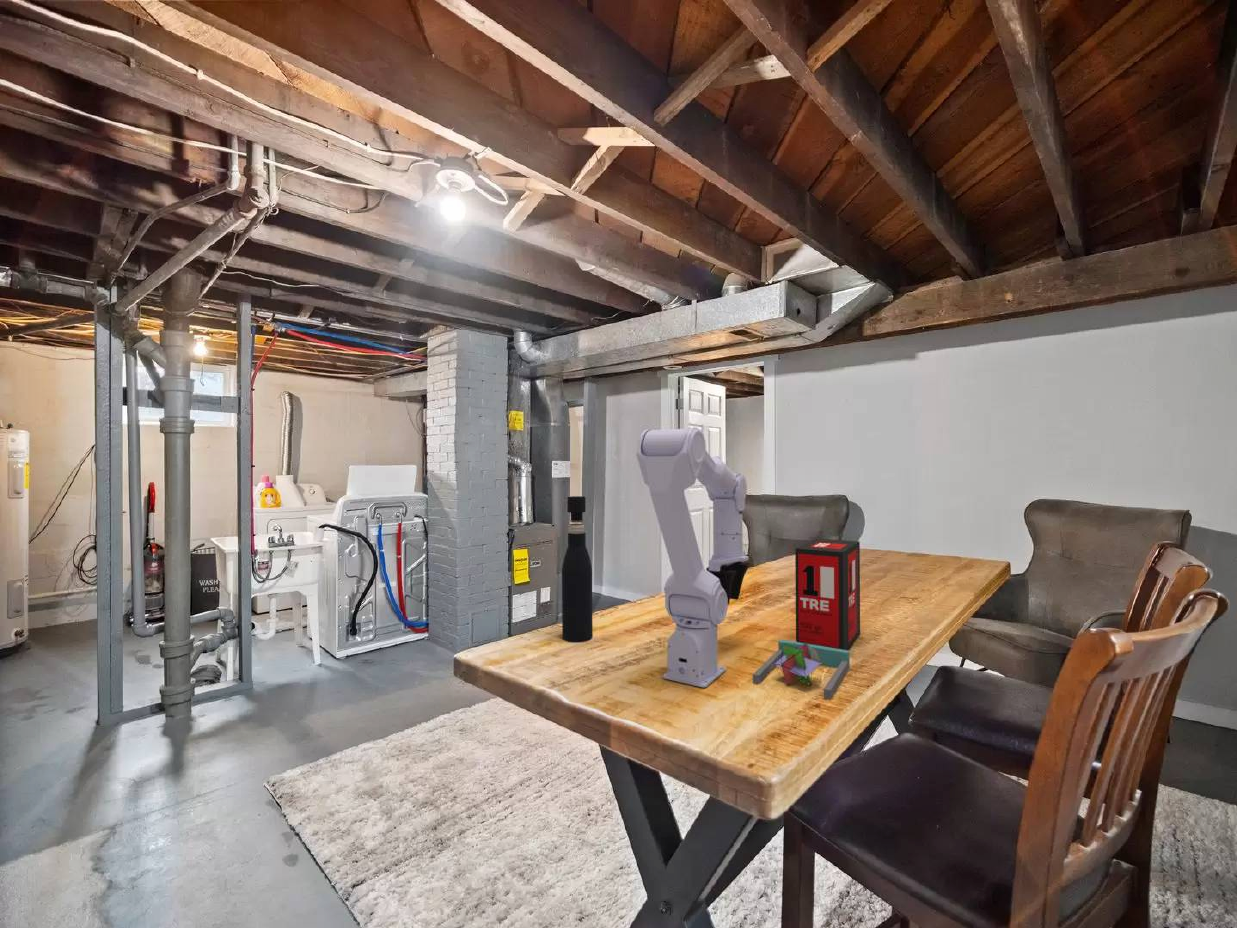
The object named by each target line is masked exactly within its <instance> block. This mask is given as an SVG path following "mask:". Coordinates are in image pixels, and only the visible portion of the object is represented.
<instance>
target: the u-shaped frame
mask: <svg viewBox="0 0 1237 928" xmlns="http://www.w3.org/2000/svg"><path fill="white" fill-rule="evenodd" d="M781 643H786V644H785V645H788V646H791V647H794V648H796V647H797V649H799V648H801V647H802V646H803V645H804V643H800V642H796V641H793V640H787V639H783V638H781V639H779V640H778V649H777V650H775V652H774V653H773V654H772V655H771V656H770V657H769V658H767V660H766V661H765V662H764V663H763V664H762V665H760V667H759V668H757V669H756V670H755V672H753V674H752V684H754V683H756V685H760V684H761V683H762V682H763V680H765V679H766V678H767V676H768V675H769V674H771V672H772V671H773V670H774V669H776V667H774V665H773V664H775V663H776V662H777V661H778V660H779V659H780V658H781V650H782V657H783V656H784V655H785V652H784V649H783V645H782V644H781ZM802 644H803V645H802ZM800 645H801V646H800ZM808 645H809V646H811V647H812V648H813V649H814V650H816V651H817V653H818V656H819V659H820V662H821V663H822V664H821V665H820V666H823V665H826V666H825V667H829V666H830V667H829V668H835V670H834V672H833V674H832V676H830V679H829V680H828V681H827V683H826V685H825V687H824V688H823V699H824V700H829V701H831V700H832V698H833V697H834V694H835V693H836V691H837V690H838V688H839V686H840V685H841V682H842V681H843V679H844V678H845V676H846V674H847V673H848V671H849V669H850V668H851V665H850V660H851V659H850V650H849V651H848V650H842V649H836V648H830V647H824V646H818V645H812V644H808ZM798 646H799V647H798ZM807 648H808V651H809V655H810V656H811V651H810V649H809V647H808V646H807ZM779 649H780V650H779ZM777 654H778V655H777ZM775 659H776V660H775ZM810 659H811V657H810ZM811 660H812V659H811ZM773 668H774V669H773ZM772 669H773V670H772ZM771 670H772V671H771ZM770 671H771V672H770ZM767 674H768V675H767ZM766 675H767V676H766ZM761 681H762V682H761ZM760 682H761V683H760ZM759 683H760V684H759Z"/></svg>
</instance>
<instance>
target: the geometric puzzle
mask: <svg viewBox="0 0 1237 928" xmlns="http://www.w3.org/2000/svg"><path fill="white" fill-rule="evenodd" d="M781 644H782V645H783V649H784V652H785V655H784V656H783V657H782V650H781V658H780V659H779V660H778V661H777V662H776V663H775V664H773V665H774V667H775V670H776V671H777V672H778V674H780V673H779V671H778V670H780V671H781V672H782V673H783V674H782V675H783V677H784V680H785V681H784V682H785V684H786V687H790V686H792V685H793V684H795V683H798V682H802V681H803V682H802V683H804V682H805V684H806V685H802V684H801V685H800V687H802V686H807V683H809V684H811V685H812V686H813V684H814V682H812V680H811V678H810V677H811V676H810V674H812V673H813V672H814V670H816V669H817V668H818V667H820V666H821V665H820V664H822V663H821V662H820V659H819V656H818V653H817V651H816V650H814V649H813V648H812V647H811V646H809V645H808V644H807V643H804V645H803V644H802V645H803V646H802V647H801V648H799V649H797V647H796V648H794V647H791V646H788V645H785V644H786V643H781ZM800 646H801V645H800ZM807 646H808V647H809V649H810V651H811V656H810V655H809V651H808V648H807ZM798 647H799V646H798ZM779 650H780V649H779ZM777 655H778V654H777ZM810 657H811V659H812V660H811V659H810ZM775 660H776V659H775ZM777 669H778V670H777ZM819 669H820V668H818V671H819ZM814 678H816V675H815V677H814ZM794 680H797V681H794ZM800 680H801V681H800ZM793 681H794V682H793ZM809 684H808V685H809ZM811 685H810V686H811Z"/></svg>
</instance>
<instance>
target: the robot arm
mask: <svg viewBox="0 0 1237 928" xmlns="http://www.w3.org/2000/svg"><path fill="white" fill-rule="evenodd" d="M706 447H707V445H706V440H705V435H704V433H703V432H702V431H701V429H700V428H699V427H697V426H696V427H695V426H694V427H692V426H691V427H690V428H671V429H649V428H648V429H644V431H643V432H641V434H640V436H639V438H638V443H637V447H636V454H635V455H636V458H637V461H638V465H639V469H640V473H641V475H642V478H643V479H642V480H643V481H644V485H645V484H646V485H647V487H648V488H649V493H650V497H651V500H652V505H653V508H654V511H655V514H656V518H657V522H658V526H659V529H660V531H661V536H662V538H663V543H664V546H665V549H666V552H667V555H668V559H669V563H670V565H671V566H670V567H671V570H672V573H671V574H670V576H668V578H667V579H666V582H665V584H664V587H663V592H664V597H665V599H664V605H665V610H666V612H667V614H668V616H669V617H671V619H672V621H671V623H673V624H674V623H675V629H674V632H673V633H672V634H671V635H670V636H669V638H668V640H667V645H666V646H667V649H666V650H667V655H666V656H667V672H665V673H664V674H662V678H663V679H665V680H670V681H674V682H678V683H681V684H687V685H690V686H696V687H700V688H706V687H708V686H709V685H710V684H711V683H712V682H714V681H715V680H716V679H717V678H719V677H720V676H721V675H722V674H723V673H724V672H725V671H726V670H727V667H726V666H721V665H718V625H720V624H722V622H723V621H725V618H726V616H727V612H728V607H729V605H730V601H731V600H739V597H740V594H741V589H742V584H743V581H744V579H745V578H744V577H745V576H746V573H747V571H748V570H749V567H750V566H749V565H750V564H749V563H747V561H749V556H748V555H746V550H744V549H743V511H744V510H745V507H746V498H747V492H748V491H747V490H748V486H747V480H746V477H745V476H744V475H742V474H741V473H738V472H733V471H732V469H731V468H730V467H729V466H728V465H727V464H726V463H725V462H724V461H723V460H722V458H721V457H720V456H719V455H710V454H709V452H708V451H707V449H706ZM696 480H698V482H699V483H700V484H701V485H702V486H704V488H705V490H706V492H707V495H708V498H709V500H710V501H712V528H713V529H712V532H713V533H712V534H713V535H712V536H713V538H712V540H713V543H712V545H713V546H712V548H713V549H712V550H713V551H712V552H713V553H712V555H711V558H710V559H709V560H708V567H706V568H704V563H703V560H702V557H701V551H700V549H699V545H698V540H697V537H696V533H695V530H694V526H693V522H692V518H691V515H690V511H689V507H688V503H687V499H686V495H685V490H686V489H688V488H691V487H692V486H694V485H695V484H696Z"/></svg>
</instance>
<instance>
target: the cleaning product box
mask: <svg viewBox="0 0 1237 928" xmlns="http://www.w3.org/2000/svg"><path fill="white" fill-rule="evenodd" d="M860 543H861V542H860V541H856V540H844V539H843V540H842V539H831V538H830V539H828V538H815V539H813V540H810V541H808V542H807V543H804V544H802V545H800V546H798V547H796V548H795V550H794V551H795V552H794V553H795V554H794V555H795V567H794V568H795V569H794V570H795V642H800V643H807V644H812V645H818V646H824V647H830V648H836V649H842V650H848V651H850V650H851V648H852V647H853V645H854V644H855V643H856V642H857V640H858V638H859V637H860V636H861V562H860V560H861V558H860V557H861V556H860V555H861V554H860V553H861V548H860V547H861V546H860Z"/></svg>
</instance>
